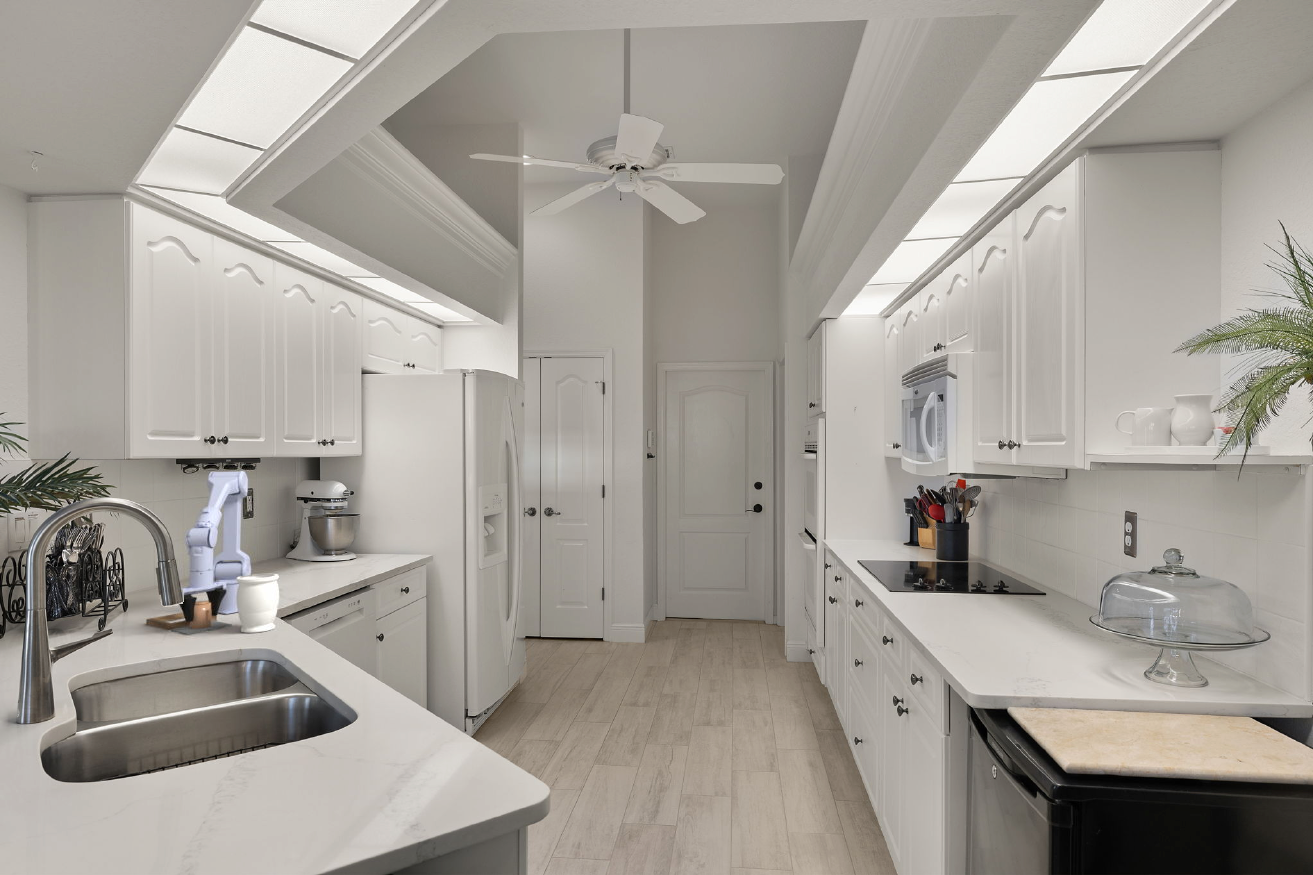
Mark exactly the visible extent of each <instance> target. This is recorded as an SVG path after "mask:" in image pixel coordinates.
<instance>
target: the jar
mask: <svg viewBox="0 0 1313 875" xmlns="http://www.w3.org/2000/svg"><path fill="white" fill-rule="evenodd" d="M279 577H280V575H279V574H277V573H254V574H253V573H252V574H251V575H245V576H240V577H237V582H238V583H239V586H238V589H237V608H238V612H237V613H238V618H239V621H240V623H241V624H242V627H241V628H240V632H242V633H246V634H255V633H256V634H257V633H264V632H265V633H266V632H269V631H272V630H274V629H275V628H276V625H275V624H274V621H275V619H276V617H277V613H278V608H279V602H280V589H279V584H278V579H279Z"/></svg>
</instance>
